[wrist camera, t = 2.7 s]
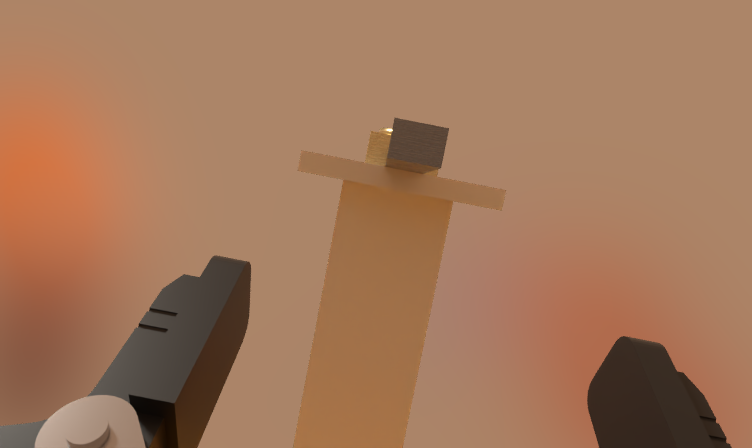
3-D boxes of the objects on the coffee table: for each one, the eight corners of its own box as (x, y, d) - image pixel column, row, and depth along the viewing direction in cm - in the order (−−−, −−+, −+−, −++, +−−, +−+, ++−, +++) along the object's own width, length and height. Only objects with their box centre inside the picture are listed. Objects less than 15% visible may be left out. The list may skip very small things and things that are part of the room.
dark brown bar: (428, 180, 41) (435, 143, 41) (475, 174, 20) (490, 100, 20) (366, 169, 41) (373, 131, 41) (352, 150, 20) (366, 75, 20)
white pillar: (393, 556, 44) (469, 189, 41) (398, 696, 32) (506, 190, 29) (255, 530, 44) (324, 161, 41) (208, 660, 32) (301, 150, 29)
